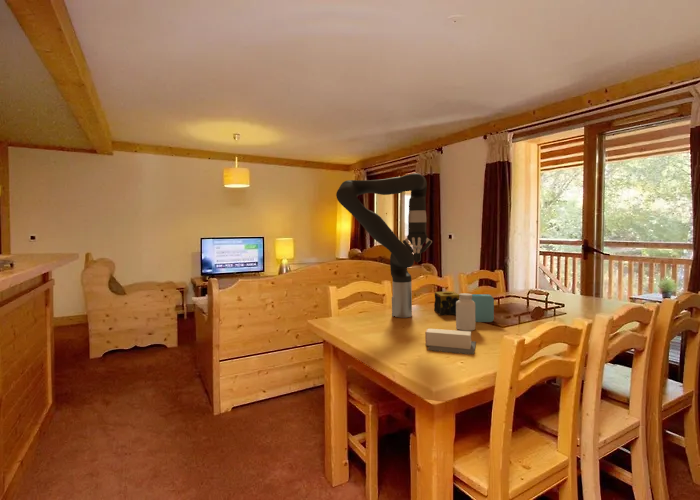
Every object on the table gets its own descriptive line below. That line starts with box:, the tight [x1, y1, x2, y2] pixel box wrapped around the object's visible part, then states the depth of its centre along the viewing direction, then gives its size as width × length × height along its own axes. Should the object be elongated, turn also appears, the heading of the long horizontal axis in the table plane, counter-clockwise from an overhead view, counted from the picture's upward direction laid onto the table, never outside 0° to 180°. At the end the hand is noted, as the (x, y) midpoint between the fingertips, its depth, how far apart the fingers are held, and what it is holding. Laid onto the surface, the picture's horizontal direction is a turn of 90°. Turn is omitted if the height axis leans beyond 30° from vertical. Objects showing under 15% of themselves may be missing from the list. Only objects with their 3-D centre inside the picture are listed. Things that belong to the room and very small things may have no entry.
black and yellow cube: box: [433, 290, 460, 316], centre depth 193 cm, size 10×10×10 cm
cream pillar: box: [424, 328, 472, 349], centre depth 143 cm, size 5×5×16 cm
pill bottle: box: [455, 292, 476, 332], centre depth 164 cm, size 8×8×15 cm
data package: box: [471, 293, 495, 323], centre depth 177 cm, size 12×4×12 cm, turn 81°
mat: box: [427, 340, 477, 355], centre depth 142 cm, size 16×14×1 cm
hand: (417, 261), depth 165 cm, fingers closed
